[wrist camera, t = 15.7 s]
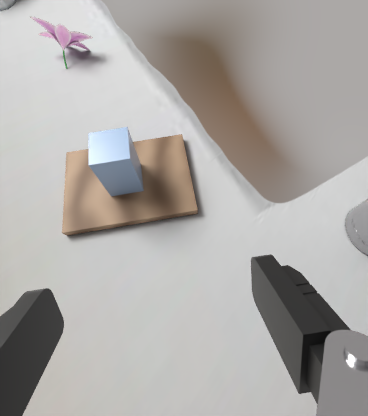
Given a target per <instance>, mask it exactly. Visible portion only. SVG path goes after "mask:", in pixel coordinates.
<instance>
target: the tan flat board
mask: <svg viewBox="0 0 368 416" xmlns="http://www.w3.org/2000/svg"><path fill="white" fill-rule="evenodd" d="M133 144H134V147H135V149H136V152H137V155H138V158H139V160H140V163H141V170H142V180H143V189H144V191H141V192H135V193H129V194H123V195H117V196H110V194H109V193H108V192H107V190H106V189H105V187H104V186H103V185H102V183H101V182H100V180H99V179H98V178H97V176H96V175H95V174H94V172H93V171H92V169H91V168H90V167H89V149H86V150H80V151H73V152H67V154H66V172H65V190H64V208H63V227H62V233H63V234H65V235H67V236H68V235H73V234H79V233H85V232H91V231H97V230H103V229H109V228H115V227H121V226H127V225H133V224H139V223H145V222H151V221H157V220H163V219H169V218H174V217H180V216H186V215H192V214H198V209H197V204H196V200H195V195H194V190H193V185H192V180H191V175H190V170H189V166H188V161H187V156H186V151H185V146H184V141H183V137H182V134H181V135H175V136H168V137H162V138H156V139H149V140H143V141H137V142H133Z"/></svg>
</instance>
